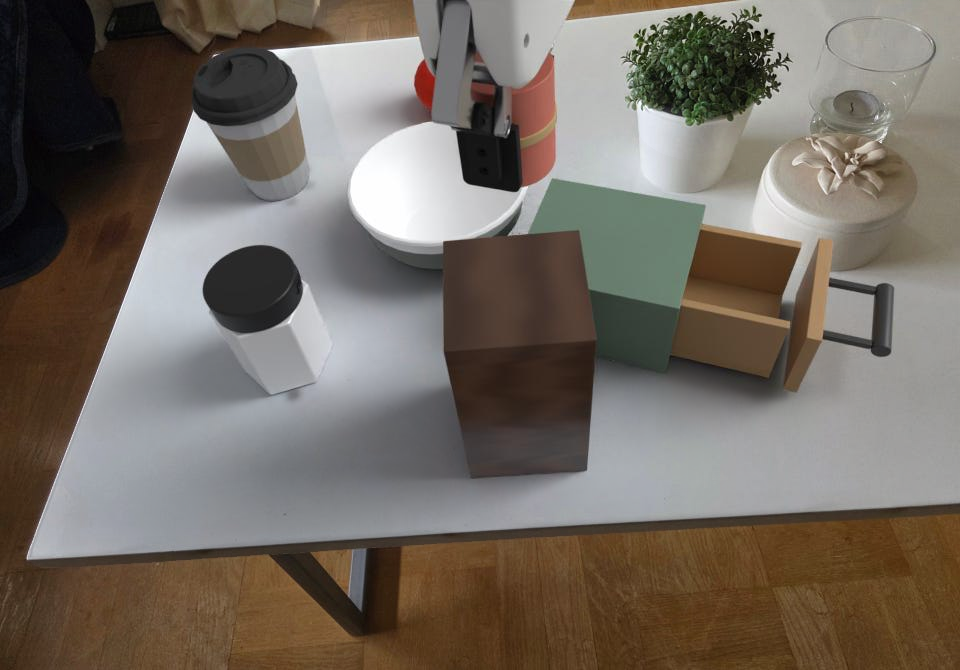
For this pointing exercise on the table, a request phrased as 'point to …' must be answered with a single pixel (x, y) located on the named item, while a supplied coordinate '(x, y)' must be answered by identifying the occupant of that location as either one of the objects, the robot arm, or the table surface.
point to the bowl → (424, 196)
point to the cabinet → (628, 263)
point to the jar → (268, 317)
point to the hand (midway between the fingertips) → (510, 146)
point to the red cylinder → (530, 119)
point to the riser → (520, 351)
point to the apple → (424, 84)
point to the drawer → (765, 305)
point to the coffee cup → (254, 118)
